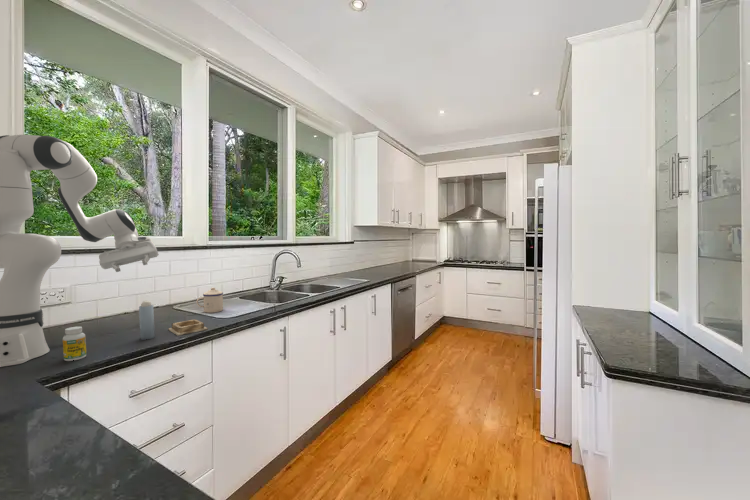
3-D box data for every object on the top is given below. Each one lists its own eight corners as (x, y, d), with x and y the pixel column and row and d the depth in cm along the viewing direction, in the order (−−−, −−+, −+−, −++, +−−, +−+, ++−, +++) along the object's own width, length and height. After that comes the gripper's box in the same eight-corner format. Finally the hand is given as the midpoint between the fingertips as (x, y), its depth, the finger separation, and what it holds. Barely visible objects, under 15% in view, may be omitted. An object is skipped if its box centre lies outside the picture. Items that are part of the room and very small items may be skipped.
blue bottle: (142, 340, 123) (140, 302, 122) (138, 337, 126) (137, 300, 125) (155, 337, 126) (154, 300, 125) (152, 335, 129) (151, 299, 128)
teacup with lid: (222, 308, 175) (222, 285, 174) (224, 311, 167) (223, 288, 166) (196, 310, 169) (195, 287, 168) (197, 314, 161) (196, 290, 160)
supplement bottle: (84, 353, 110) (83, 324, 109) (88, 357, 106) (86, 327, 106) (62, 358, 106) (60, 328, 105) (65, 362, 102) (63, 331, 102)
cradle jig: (177, 335, 129) (177, 328, 128) (168, 329, 136) (168, 323, 136) (207, 329, 137) (207, 323, 137) (197, 324, 144) (197, 318, 144)
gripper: (95, 248, 139) (97, 269, 131) (152, 235, 149) (157, 254, 141) (101, 259, 143) (103, 280, 135) (157, 246, 153) (161, 265, 145)
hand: (131, 267), depth 138 cm, fingers open, 8 cm apart
